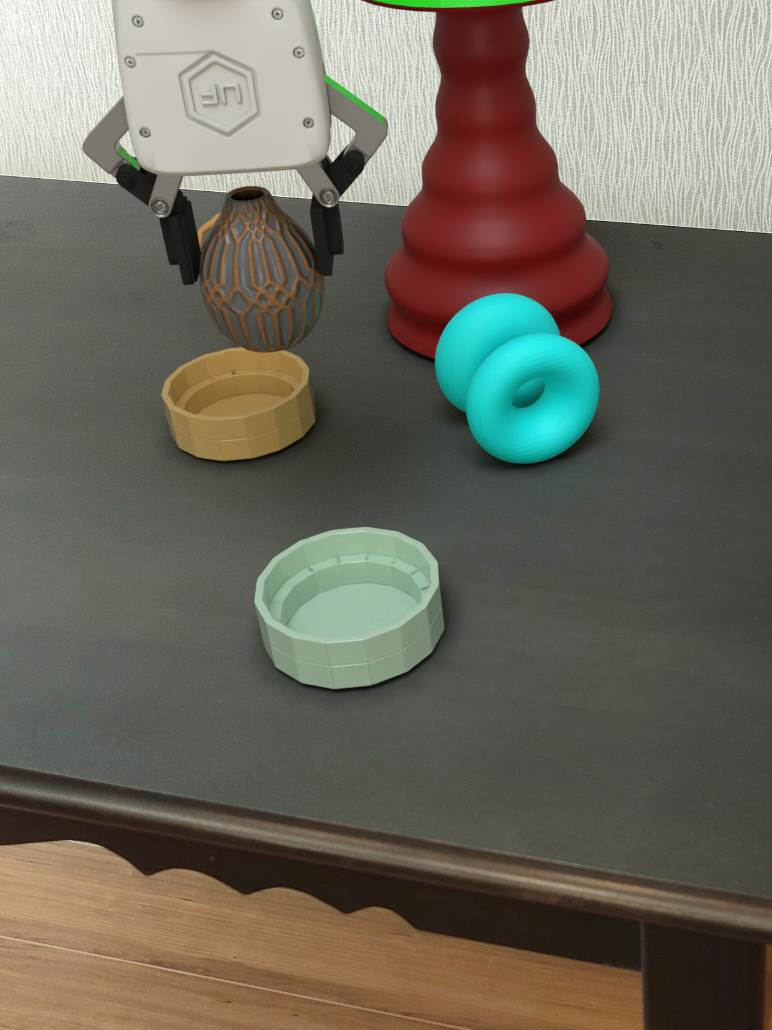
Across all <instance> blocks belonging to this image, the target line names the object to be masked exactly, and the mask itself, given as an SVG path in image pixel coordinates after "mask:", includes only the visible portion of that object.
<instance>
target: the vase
mask: <svg viewBox="0 0 772 1030" xmlns="http://www.w3.org/2000/svg"><path fill="white" fill-rule="evenodd" d="M220 212H221V213H220ZM220 212H219V213H220V215H219V217H218V219H217V220H216V222H215V224H214V225H213V227H212V229H210V230H209V232H208V234H207V236H206V238H205V240H204V242H203V244H202V247H201V258H200V268H199V276H198V278H199V286H200V291H201V296H202V299H203V302H204V305H205V308H206V310H207V313H208V315H209V317H210V319H211V320H212V322H213V324H214V325H215V327H216V328H217V329H218V331H219V332H220V333H221V334H222V335H223V336H224V337H225V338H227V339H228V340H229V341H230V342H232V343H233V344H235V345H237V346H238V347H242V348H244V349H246V350H249V351H253V352H260V353H269V352H277V351H282V350H285V351H287V350H289V349H292V348H294V347H296V346H297V345H299V344H301V343H302V342H303V341H304V340H305V339H306V338H307V337H308V335H310V334H311V332H312V331H313V329H314V328H315V326H316V325H317V323H318V322H319V320H320V317H321V313H322V311H323V307H324V301H325V279H324V277H325V276H323V275H322V274H319V272H318V265H317V258H316V252H315V245H314V241H313V240H312V239H311V237H310V235H309V234H308V233H307V231H306V230H305V228H303V227H302V226H301V224H299V223H298V222H297V221H296V220H295V219H294V218H293V217H292V216H291V215H290V214H288V212H287V211H286V210H284V209H283V208H282V207H281V206H280V205H279V204H278V203H277V201H276V200H275V198H274V197H273V195H272V193H271V192H270V190H268V189H267V188H266V187H263V186H258V185H246V186H240V187H236V188H233V189H231V190H229V191H228V192H226V194H225V196H224V199H223V204H222V209H221V210H220Z"/></svg>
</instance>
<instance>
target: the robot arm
mask: <svg viewBox="0 0 772 1030" xmlns="http://www.w3.org/2000/svg"><path fill="white" fill-rule="evenodd" d="M111 5H112V17H113V18H112V21H113V29H114V31H113V32H114V39H115V40H114V41H115V47H116V56H117V62H118V69H119V76H120V82H121V89H122V96H121V97H120V98H119V99H118V100H117V102H115V104H114V105H113V106H112V107H111V108H110V109H109V110H108V111H107V113H105V115H104V116H103V117H102V118H101V119H100V121H99V122H97V124H95V126H94V127H93V128H92V130H91V131H90V132H89V133H88V134H87V136H86V137H85V139H84V140H83V143H82V144H81V149H82V153H84V155H86V156H87V158H89V159H90V160H91V161H93V163H95V164H96V165H97V166H98V167H99V168H100V169H102V170H103V171H104V172H106V173H107V174H108V175H111V177H113V178H114V179H115V181H116V183H117V184H118V186H119V187H121V188H122V189H124V190H125V191H126V192H128V193H129V194H130V195H132V196H133V197H134V198H136V199H138V200H139V201H140V202H141V203H143V204H144V205H146V206H147V207H148V210H149V212H150V213H151V214H152V216H154V217H156V218H158V220H159V225H160V229H161V233H162V238H163V243H164V246H165V252H166V257H167V260H168V261H167V262H168V265H170V266H178V267H179V273H180V277H181V282H182V285H183V286H192V285H194V284H195V283H198V279H199V268H200V258H201V252H202V248H201V249H200V244H199V239H198V234H197V233H198V229H197V225H196V220H195V216H194V210H193V205H192V201H191V200H189V199H188V197H187V195H184V192H183V191H182V190H181V189H180V188H181V186H182V182H183V180H184V177H198V176H199V177H201V176H217V175H219V176H220V175H233V174H235V175H236V174H249V173H250V174H251V173H252V174H253V173H263V172H264V173H265V172H281V171H293V170H294V171H295V170H296V171H297V173H298V175H299V176H300V177H301V178H302V179H301V180H303V182H304V183H305V184H306V186H307V187H308V189H309V190H310V192H311V193H312V195H311V200H310V208H309V216H310V223H311V230H312V238H313V244H314V246H315V252H316V258H317V265H318V272H319V274H322V275H323V277H332V276H333V271H334V263H335V261H334V260H335V256H339V255H341V256H342V255H344V253H345V242H344V234H343V226H342V219H341V211H340V203H339V202H340V199H341V198H342V196H343V195H344V194H345V192H346V191H347V190H348V189H349V188H350V187H351V186H352V184H353V183H354V182H355V181H357V178H359V176H360V175H361V174H362V173H363V171H364V170H365V167H366V165H367V164H368V162H369V161H370V160H371V159H372V158H373V156H374V155H375V154H376V153H377V151H378V150H379V148H380V147H381V146H382V144H383V143H384V141H386V139H387V137H388V134H389V122H388V119H387V118H386V117H385V116H383V114H381V113H380V112H378V111H377V110H376V109H374V108H373V107H371V105H369V104H367V103H366V102H364V101H363V100H361V98H359V97H357V96H356V95H355V94H354V93H352V92H351V91H350V90H348V89H347V88H346V87H344V86H342V85H341V84H340V83H338V82H337V81H335V80H334V79H333V78H332V77H330V76H329V75H327V71H326V66H325V60H324V54H323V50H322V45H321V40H320V36H319V35H320V34H319V30H318V25H317V21H316V18H315V13H314V9H313V5H312V1H311V0H111ZM332 116H334V117H335V118H336V119H338V120H339V121H340V122H342V123H343V124H344V125H346V126H347V127H348V128H350V129H352V130H353V132H354V133H355V134H354V135H353V137H352V139H351V141H350V142H349V143H348V144H347V145H346V146H345V147H343V149H342V150H341V151H340V152H339V154H338V155H337V156H336V158H335V159H334V160H333V161H332V159H331V158H330V156H329V155H328V153H329V150H330V147H331V141H332V121H333V117H332ZM127 132H128V133H129V137H130V142H131V145H132V149H133V153H134V156H132V155H131V154H130V153H128V150H127V149H126V148H124V147H123V146H122V144H121V141H120V140H121V139H122V138H123V137H124V136H125V135H126V134H127Z"/></svg>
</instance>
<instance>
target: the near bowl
mask: <svg viewBox="0 0 772 1030" xmlns="http://www.w3.org/2000/svg"><path fill="white" fill-rule="evenodd" d="M440 577H441V576H440V567H439V562H438V560H437V559H436V557H435V556H434V555H433V554H432V553H431V551H430V550H429V549H428V548H427V546H426V545H425V544H424V543H422V541H421V542H420V541H418V540H416V539H415V538H413V537H410V536H408V535H406V534H404V533H402V532H400V531H397V530H391V529H386V528H385V529H384V528H376V527H372V526H360V527H349V528H338V529H330V530H327V531H325V532H321V533H318V534H315V535H312V536H310V537H306V538H303V539H300V540H298V541H297V542H295V543H294V544H292V545H290V546H289V547H288V548H286V549H284V550H283V551H281V552H279V553H278V554H277V555H275V556H274V557H273V558H272V559H271V560H270V561H269V562H268V564H267V565H266V567H265V568H264V569H263V571H262V572H261V573H260V574H259V576H258V577H257V578H256V585H255V586H256V587H255V593H254V598H253V599H254V600H253V603H254V608H255V612H256V616H257V621H258V624H259V628H260V634H261V639H262V642H263V646H264V648H265V650H266V652H267V654H268V656H269V658H270V660H271V662H272V663H273V666H274V667H275V668H276V669H278V670H279V671H281V672H282V673H284V674H286V675H287V676H289V677H291V678H292V679H294V680H296V681H297V682H299V683H301V684H305V685H311V686H315V687H321V688H326V689H331V690H339V689H340V690H341V689H349V688H359V687H360V688H361V687H370V686H374V685H377V684H379V683H381V682H385V681H387V680H389V679H392V678H394V677H398V676H401V675H404V674H405V673H407V672H409V671H410V670H411V669H413V668H414V667H416V666H417V665H418V664H419V663H420V662H422V661H423V660H424V659H426V658H427V657H428V656H429V655H430V654H432V653H433V651H434V649H435V647H436V645H437V644H438V642H439V640H440V639H441V636H442V634H443V633H444V631H445V617H444V602H443V595H442V586H441V578H440Z"/></svg>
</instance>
